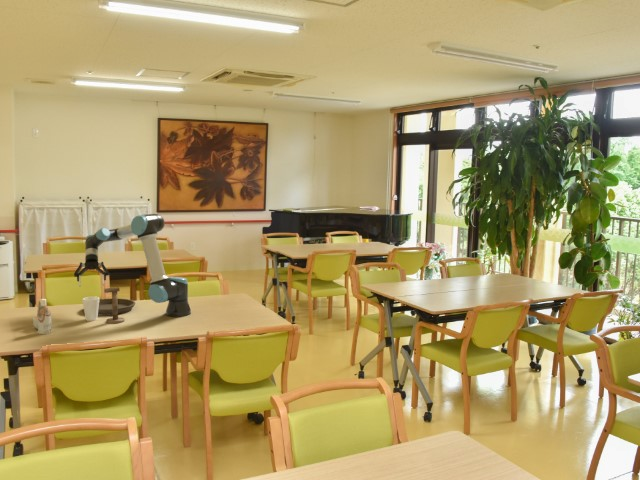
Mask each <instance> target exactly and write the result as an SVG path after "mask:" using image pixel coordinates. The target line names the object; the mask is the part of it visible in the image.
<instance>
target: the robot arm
mask: <svg viewBox="0 0 640 480" xmlns="http://www.w3.org/2000/svg"><path fill="white" fill-rule="evenodd" d="M165 224H166V222H165V219H164V217H162V216H161V214H159V213H149V214H148V213H147V214H140V215H135V216H134V217H133V219H132V221H131V223H130V224H127V225H125V226H120V227H117V228H113V229H108V228H105V227H101V228H100V229H98V230H97V231H96V232H95V233H94V234H89V235H87V236H86V237H85V242H84V244H85V253H84V254H85V255H84V256H85V257H84V258H85V261H84V262H82V261H81V262H79V264H78V267H77V268H76V270H75V271H74V273H73V276H74V278H75V277H76V281H77V282H78V287H81V286H82V285H81V281H82V280H81V279H82V278H81V276H82V275H83V274H84V273H86V272H87V271H88V270H89V271H90V270H93V271H94V270H96V271H98V273H100V274H101V275H102V286H105V281H107V276H110V272H109V271H108V269H107V268H106V266H105V265H104V262H103V261H101V262H99V247H100V246H101V245H102V244H103V243H107V242H113V241H122V240H124V239H127V238H130V237H134V236H136V237H137V240H139V241H140V242H141V244H142V249H143V253H144V256H145V260H146V264H147V266H148V270H149V275H150V278H151V281H149V284H150V286H149V287H148V290H147V291H148V296H149V299H151V300H152V301H153V302H154V303H156V304H162V303H166V302H167V303H168V304H167V306H166V310H165V315H166V316H170V317H185V316H188V315H190V314H192V313H191V312H192V311H191V310H192V309H191V307H190V304H189V296H188V295H189V292H188V291H189V290H188V289H189V288H188V287H189V285H188V279H187V278H186V277H182V276H181V277H180V276H167V274H166V271H165V267H164V264H163V263H164V262H163V260H162V255H161V253H160V247H159V245H158V241H157V235H158V233H159V232H161V231H162V230H163V229H164V228H165ZM99 266H100V267H101V268H100V267H99ZM83 267H84V268H83Z"/></svg>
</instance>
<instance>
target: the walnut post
mask: <svg viewBox="0 0 640 480" xmlns="http://www.w3.org/2000/svg"><path fill="white" fill-rule="evenodd" d="M103 292H104V293H106V294H108V293H111V298H112V312H113V315H112V317H109V318H106V321H105V322H106V323H107V324H109V325H110V324H116V325H117V324H122V323H123V322H125V318H124V317H122V316H121V317H120V316H119V314H118V299H117V298H118V292H120V287H116V286H115V287H108V288H104V291H103Z"/></svg>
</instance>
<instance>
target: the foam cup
mask: <svg viewBox="0 0 640 480" xmlns="http://www.w3.org/2000/svg"><path fill="white" fill-rule="evenodd" d="M99 299H100V297H99V296H86V297H83V298H82V299H81V302H82V306H83V312H84V317H85V320H86V321H87V322H94V321H97V320H98V316H99V315H98V307H99Z"/></svg>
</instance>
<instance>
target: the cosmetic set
mask: <svg viewBox="0 0 640 480" xmlns="http://www.w3.org/2000/svg"><path fill="white" fill-rule="evenodd" d="M32 322H33V323H32V325H33V328H35V329H37V332H38V334H40V335H47V334H50V333H52V315H51V309H50V308H49V307H48V306H47V299H46V298H41V299H38V305H37V312H36V316H33V318H32Z"/></svg>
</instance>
